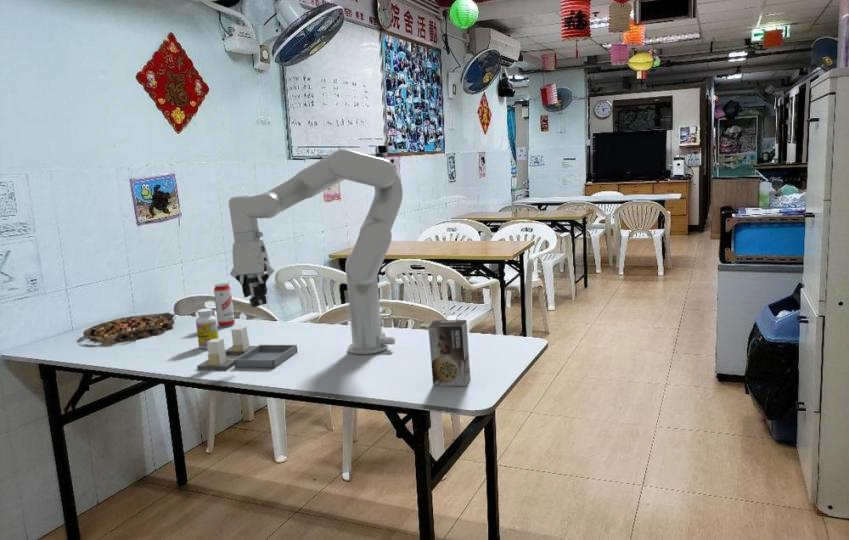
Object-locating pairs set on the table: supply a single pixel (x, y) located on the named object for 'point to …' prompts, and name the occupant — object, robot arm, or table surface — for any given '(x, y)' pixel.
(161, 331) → the food dish
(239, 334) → the block
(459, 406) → the table surface
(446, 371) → the printed cardboard box
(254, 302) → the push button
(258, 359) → the tray
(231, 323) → the beer can
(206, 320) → the supplement bottle
